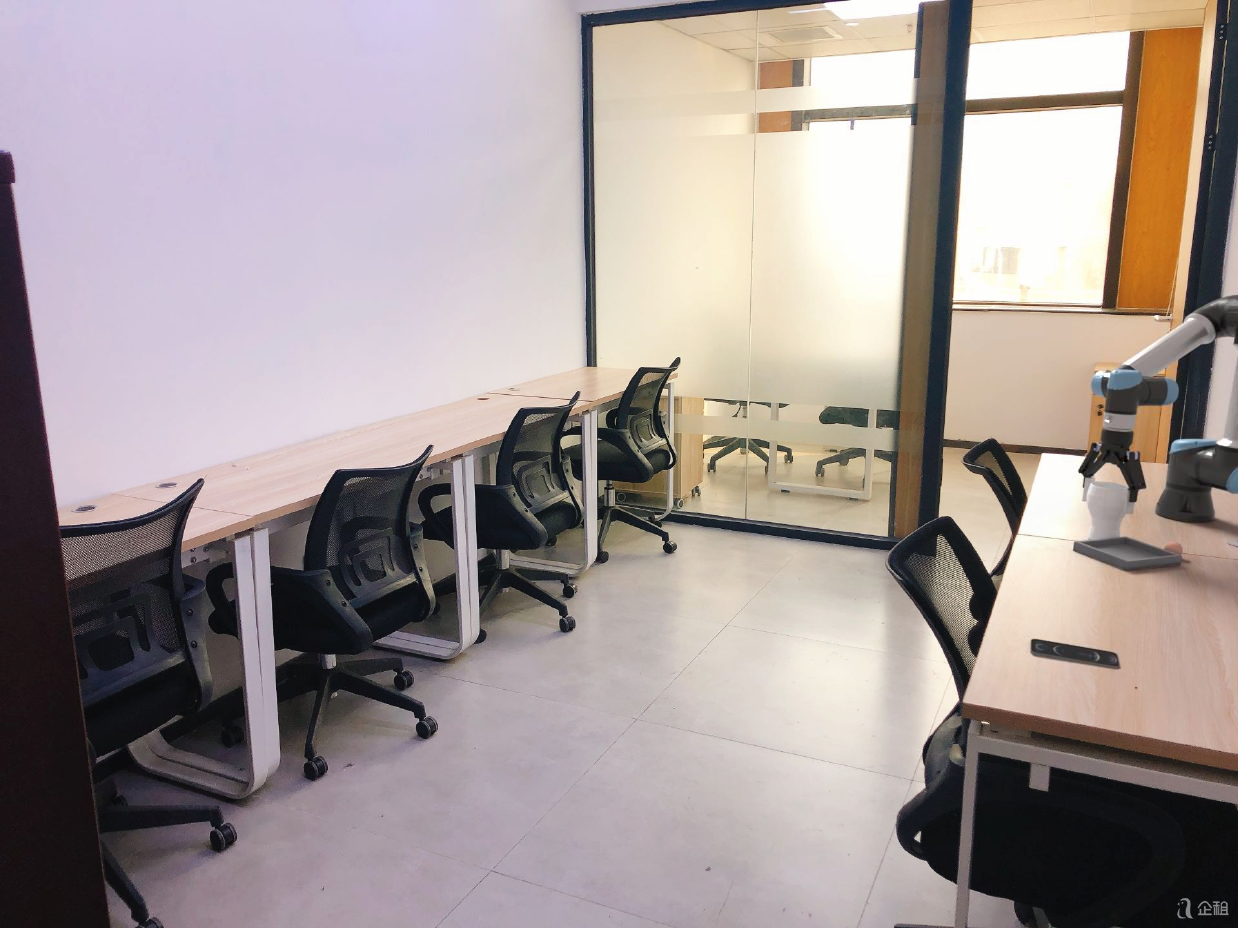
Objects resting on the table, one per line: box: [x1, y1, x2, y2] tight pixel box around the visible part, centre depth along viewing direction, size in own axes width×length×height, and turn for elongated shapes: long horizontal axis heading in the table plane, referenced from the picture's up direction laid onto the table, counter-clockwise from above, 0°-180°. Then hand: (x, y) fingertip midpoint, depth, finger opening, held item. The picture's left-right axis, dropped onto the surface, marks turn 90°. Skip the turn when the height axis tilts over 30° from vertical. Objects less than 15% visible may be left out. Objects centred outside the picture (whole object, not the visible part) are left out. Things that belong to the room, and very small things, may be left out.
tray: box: [1072, 535, 1183, 572], centre depth 233 cm, size 17×17×2 cm
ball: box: [1163, 541, 1183, 555], centre depth 234 cm, size 4×4×4 cm
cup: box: [1086, 481, 1129, 540], centre depth 247 cm, size 11×11×15 cm
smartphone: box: [1030, 638, 1120, 669], centre depth 175 cm, size 8×1×15 cm
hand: (1106, 507), depth 247 cm, fingers open, 13 cm apart
